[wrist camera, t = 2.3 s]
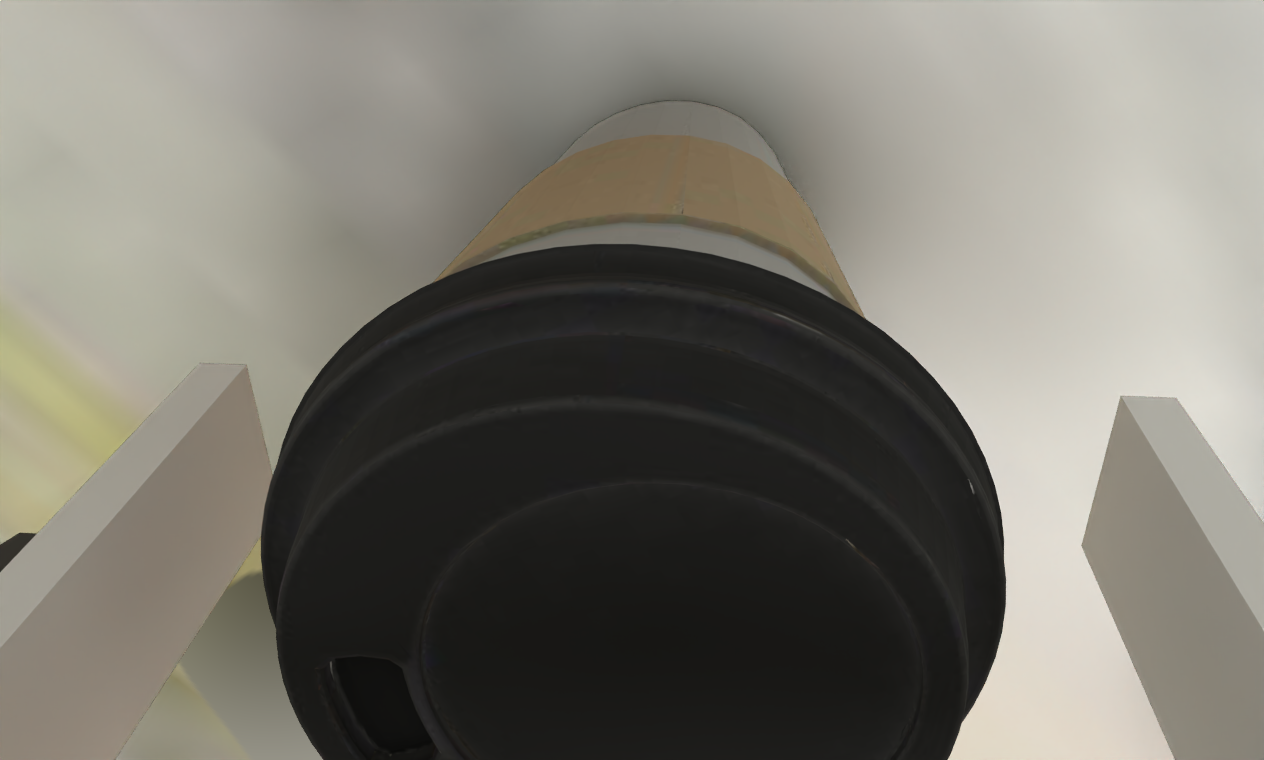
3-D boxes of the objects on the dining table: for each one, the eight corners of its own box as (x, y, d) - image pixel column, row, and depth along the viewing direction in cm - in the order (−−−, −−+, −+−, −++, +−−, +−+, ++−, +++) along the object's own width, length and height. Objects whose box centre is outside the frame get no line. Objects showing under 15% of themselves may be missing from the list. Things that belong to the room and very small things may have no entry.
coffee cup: (402, 186, 25) (41, 621, 12) (712, -82, 21) (682, 118, 8) (648, 447, 28) (575, 1015, 15) (953, 252, 24) (1204, 775, 11)
